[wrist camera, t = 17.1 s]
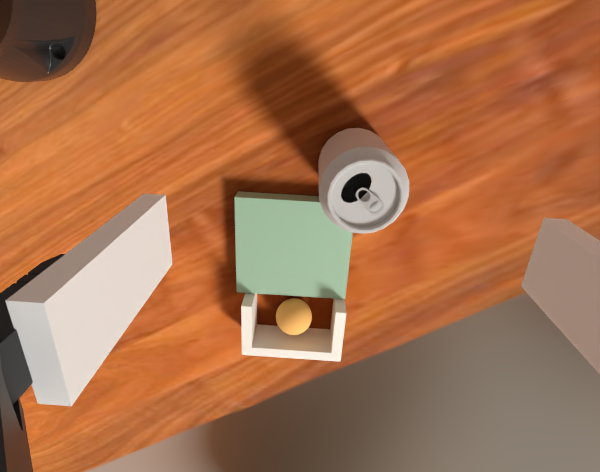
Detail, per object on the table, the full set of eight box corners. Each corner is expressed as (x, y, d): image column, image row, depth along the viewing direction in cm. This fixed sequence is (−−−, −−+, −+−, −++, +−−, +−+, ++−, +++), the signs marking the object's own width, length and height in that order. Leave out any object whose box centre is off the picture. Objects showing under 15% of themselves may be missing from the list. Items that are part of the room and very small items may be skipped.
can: (352, 110, 39) (365, 130, 28) (403, 159, 41) (434, 195, 30) (303, 165, 42) (299, 202, 31) (354, 208, 44) (366, 258, 33)
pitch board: (239, 283, 48) (236, 292, 47) (237, 191, 43) (234, 197, 42) (344, 290, 48) (345, 299, 46) (354, 198, 43) (355, 204, 41)
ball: (273, 341, 47) (274, 312, 45) (277, 317, 50) (277, 289, 48) (310, 344, 47) (312, 315, 44) (311, 319, 50) (313, 292, 48)
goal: (247, 331, 51) (241, 354, 47) (247, 285, 48) (241, 306, 44) (338, 337, 51) (340, 361, 47) (343, 291, 48) (346, 313, 44)
